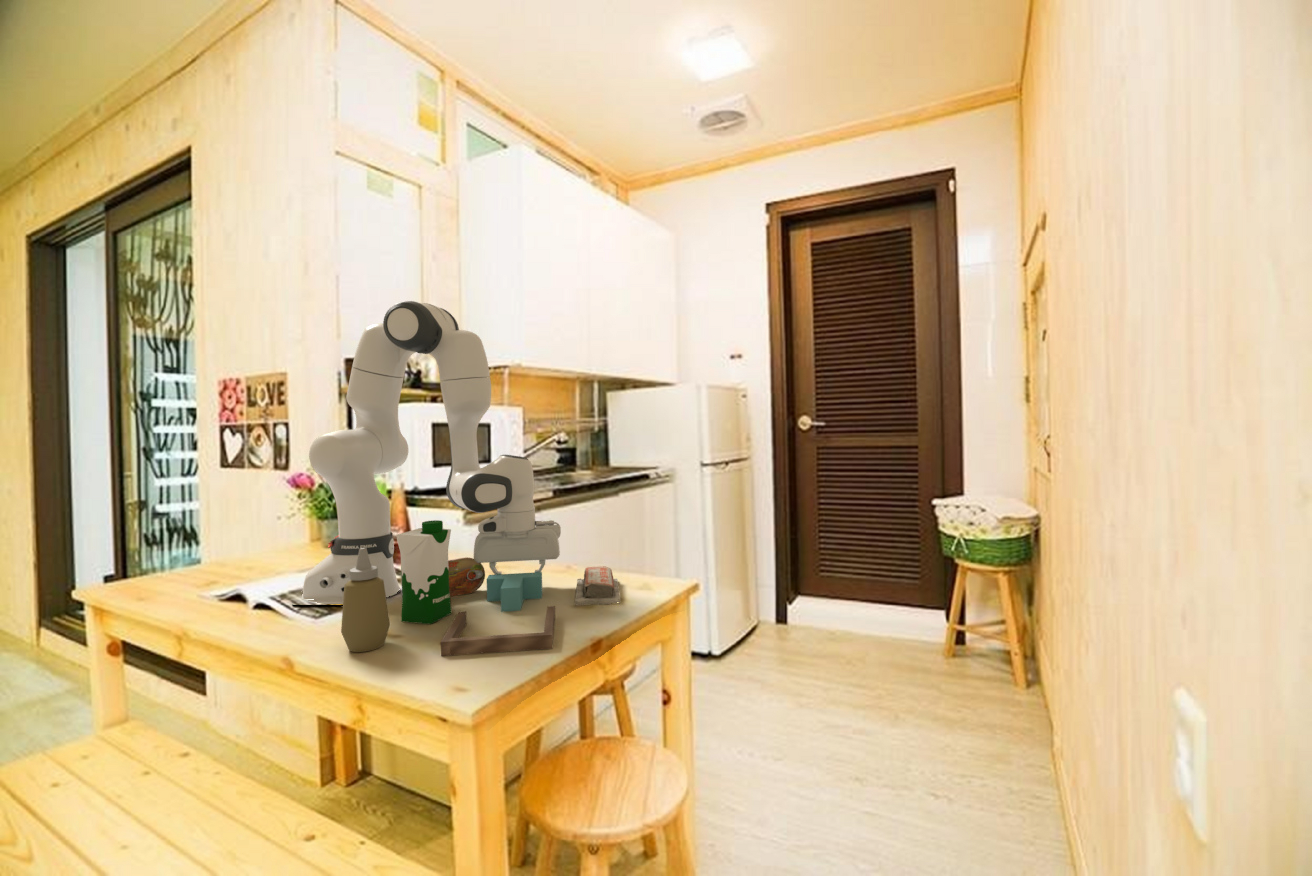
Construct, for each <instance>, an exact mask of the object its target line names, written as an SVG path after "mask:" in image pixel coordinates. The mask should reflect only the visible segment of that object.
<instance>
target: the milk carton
mask: <svg viewBox="0 0 1312 876" xmlns="http://www.w3.org/2000/svg"><path fill="white" fill-rule="evenodd" d="M443 523H444V522H443V520H436V519H435V520H425V521H423V522H421V527H419V528H415V529H412V530H409V531H404V532H401V533H397V534H396V535H395V537H396V542H397V544H398V548H399V551H400V552H399V553H400V570H401V571H400V574H401V577H400V578H401V611H400V612H401V614H400V616H401V618H400V622H403V623H414V624H422V625H431V624H434V623H436V622H438V621H440V620H441V619H443V618H445V617H447V616H449V615H451V614H452V605H451V597H450V593H449V566H448V560H449V548H450V547H449V546H450V539H451V532H452V529H451V528H444V525H443Z"/></svg>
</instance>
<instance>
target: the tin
mask: <svg viewBox="0 0 1312 876" xmlns="http://www.w3.org/2000/svg"><path fill="white" fill-rule="evenodd" d="M448 566H449V593H450V598H451V597H456V596H465V595H469V594H472V593H475V592H477V590H479V589H480V588H481V587H482V585H483V583H484V581H485V579H486V571H485V567H484V565H483V564H482V563H477V562H476V561H475V559H474V557H473V558H472V557H467V556H466V557H460V558H452V559H448Z"/></svg>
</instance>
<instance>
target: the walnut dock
mask: <svg viewBox="0 0 1312 876" xmlns="http://www.w3.org/2000/svg"><path fill="white" fill-rule="evenodd" d="M467 619H468V617H467V610H466V611H463V610H462V611H458V612H457V614H456V615H455V617H454V619H453V621H452V622H451V624H450V625H449V627H448V629H447V631H446V632H445V634H444V635H443V637H442V639H441V641H440V657H448V656H451V657H452V656H464V655H479V654H493V653H494V654H495V653H505V652H507V653H508V652H509V651H510V652H522V651H523V650H525V651H535V650H537V649H539V650H549V649H551V650H552V649H553V646H552V645H553V644H554V635H555V634H554V633H555V623H556V606H555V605H550V606H547V608H546V615H545V620H544V621H545V622H544V627H543V632H541V631H540V632H529V633H514V634H513V633H512V634H511V633H510V634H498V635H484V636H483V635H482V636H481V635H480V636H469V637H468V636H467V637H461V635H462V634H463V631H465V630H464V629H465V628H466V625H467V624H468V623H467ZM510 652H509V653H510Z"/></svg>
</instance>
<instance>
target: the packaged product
mask: <svg viewBox="0 0 1312 876" xmlns="http://www.w3.org/2000/svg"><path fill="white" fill-rule="evenodd" d="M574 598H575V599H574V600H575V601H574V603H575V606H590V605H589V604H599V605H611V603H617V602H620V603H621V594H620V587H619V581H618V578H614V575H613V571H612V568H611V567H607V566H605V565H604V566H587V567H585V569H584V574H583V578H577V581H576V589H575V597H574Z"/></svg>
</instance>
